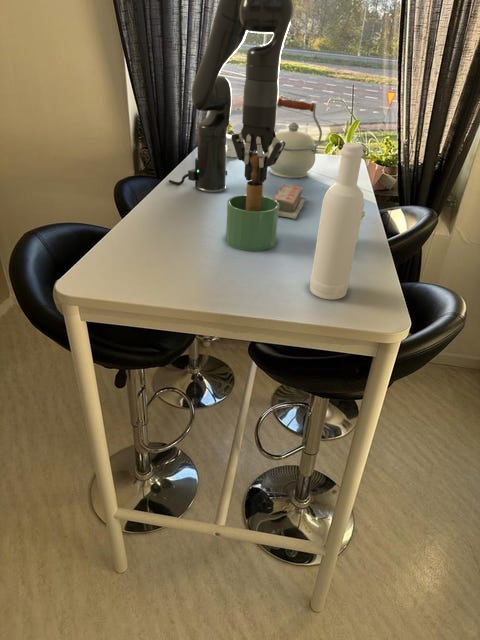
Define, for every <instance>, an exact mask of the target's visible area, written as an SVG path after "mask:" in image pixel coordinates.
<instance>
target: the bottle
mask: <svg viewBox="0 0 480 640" xmlns="http://www.w3.org/2000/svg"><path fill="white" fill-rule="evenodd" d="M340 155H341V156H340V163H339V167H338V168H339V169H338V175H337V180H336V182H335V183H334V184H333V185H331V186H330V187H329V188H328V189H327V191H326V193H325V194H324V197H323V199H322V203H321V211H320V217H319V225H318V231H317V238H316V244H315V250H314V256H313V257H314V258H313V264H312V271H311V275H310V281H309V282H310V284H309V291H310V292H311V293H312V294H313V296H315V297H317V298H321V299H323V300H330V301H332V300H333V301H334V300H335V301H336V300H340V299H342V298H344V297H346V295H347V292H348V289H349V285H350V277H351V271H352V267H353V263H354V259H355V252H356V248H357V242H358V236H359V232H360V228H361V223H362V220H361V218H362V219H363V217H362V213H363V211H364V207H365V197H364V193H363V190H361V188H360V187H359V185H358V180H359V175H360V174H359V173H360V169H361V163H362V159H363V157H364V145H363V144H361V143H358V142H345V143H344V144H343V145H342V149H341V151H340Z"/></svg>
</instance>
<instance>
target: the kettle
mask: <svg viewBox="0 0 480 640" xmlns="http://www.w3.org/2000/svg"><path fill="white" fill-rule="evenodd" d="M281 107H284V108H288V109H293V110H299V111H310V112H312V118H313V120H314V123H315V125H316V127H317V129H318V131H319V137H318V140H317V142H316V143H315V141H314V138H313V137H312V135H311V134H309V132H306V131H304V130H300V126H299V124H298V123H296V122H295V121H293V122H291V123H289V125H288V128H287V129H281V130H278V131H276V132H275V134H276V138H277V139H278V140H280V141H281V142H282V141H284V142H285V146H284V148H283V150H282V152H281V154H280V156H279V158H278V159H277V161H276V163H275V164H274V165H271V166H268V167H269V168H270V170H269V171H270V173H271V174H272V175H274V176H276V177H280V178H284V179H301V178H305V177H307V175H308V174H309V171H310V170H311V169H312V168H313V167H314V165H315V163H316V153H318V149H317V148H318V146H319V145H320V142H321V140H322V137H323V136H322V135H323V130H322V128H321V125H320V123H319V121H318V119H317V117H316V110H317V103H314V102H312V103H309V102H305V101H299V100H292V99H283V98H278V102H277V112H278V111H279V109H280V108H281ZM272 146H273V143H272V144H271V145H270V147H269V156H270V154H271V152H272V150H273V148H272Z"/></svg>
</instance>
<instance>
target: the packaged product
mask: <svg viewBox="0 0 480 640" xmlns="http://www.w3.org/2000/svg"><path fill="white" fill-rule="evenodd" d="M302 195H303V188H302V187H300V186H297V185H290V184H283V185H282V186H281V187H280V188H279V190H278V191H277V192H276V193H275V194H274V195H273V197H271V198H272V199H274V200H276V201H277V202H278V203H279V216H278V217H282V218H289V219H293V220H296V218H297V216H298V215H299V213H300V211H301V210H302V209H303V206H304V204H305V203H306V201H307V197H305V196H302Z"/></svg>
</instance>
